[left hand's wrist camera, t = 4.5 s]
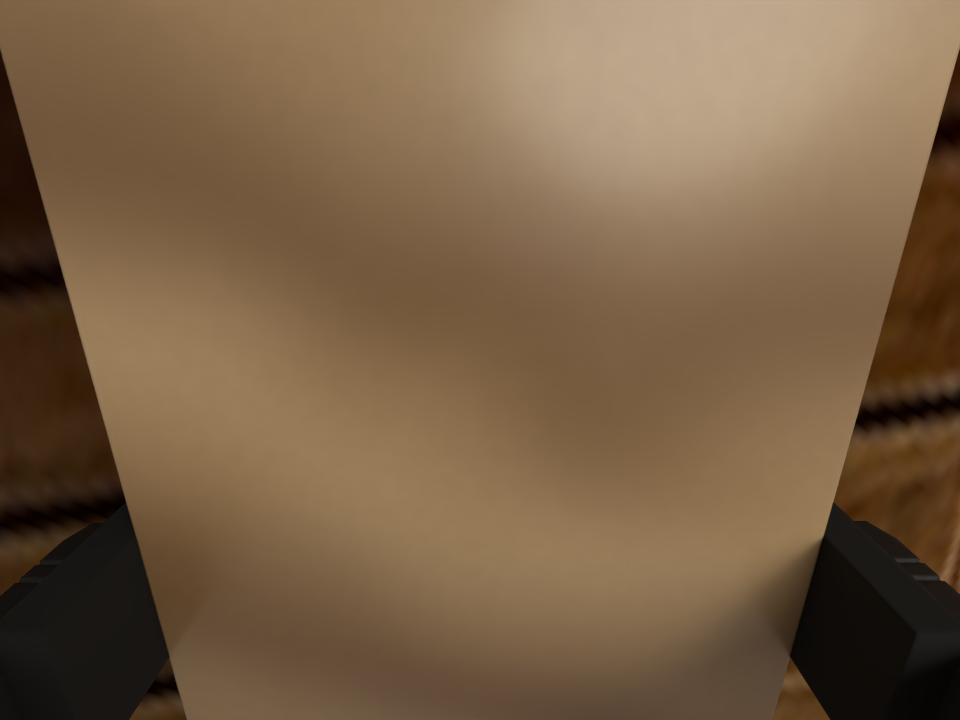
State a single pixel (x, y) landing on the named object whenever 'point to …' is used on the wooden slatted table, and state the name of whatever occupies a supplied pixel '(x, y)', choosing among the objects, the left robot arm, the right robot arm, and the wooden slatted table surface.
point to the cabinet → (479, 329)
